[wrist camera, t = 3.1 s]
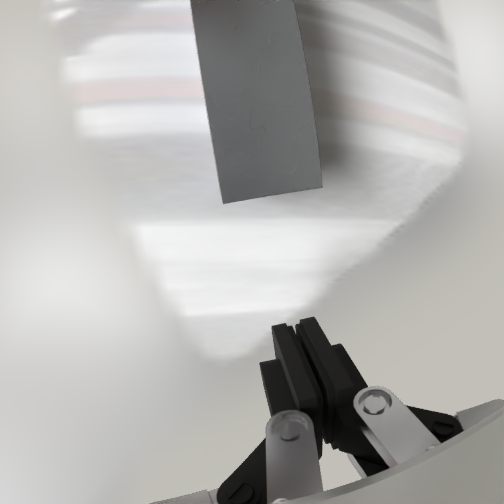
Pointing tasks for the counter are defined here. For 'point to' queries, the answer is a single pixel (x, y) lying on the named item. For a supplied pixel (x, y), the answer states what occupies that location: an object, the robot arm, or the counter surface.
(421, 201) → the counter surface
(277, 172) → the bar
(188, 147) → the counter surface
